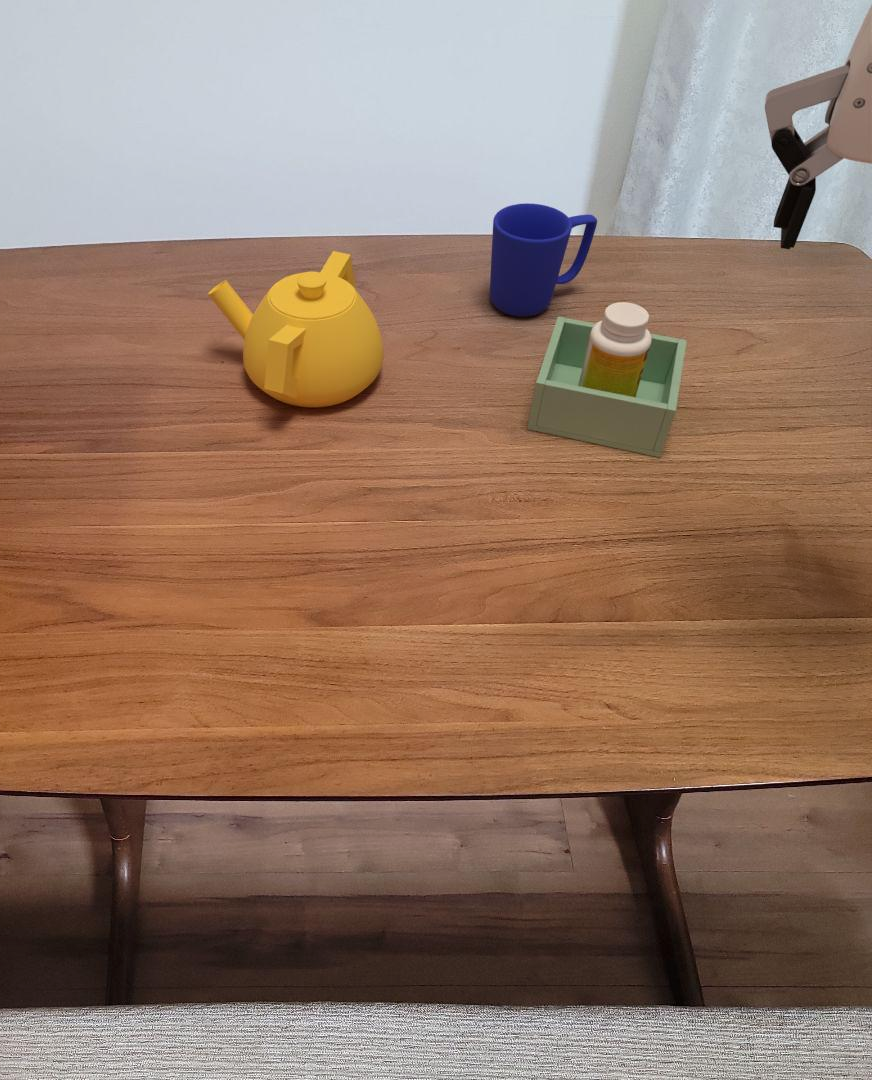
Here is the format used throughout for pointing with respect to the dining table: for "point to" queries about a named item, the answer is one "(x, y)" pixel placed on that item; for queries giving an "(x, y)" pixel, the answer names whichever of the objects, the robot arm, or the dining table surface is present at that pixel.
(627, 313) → the supplement bottle
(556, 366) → the bin
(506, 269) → the mug
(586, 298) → the dining table surface
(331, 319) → the teapot
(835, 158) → the robot arm
